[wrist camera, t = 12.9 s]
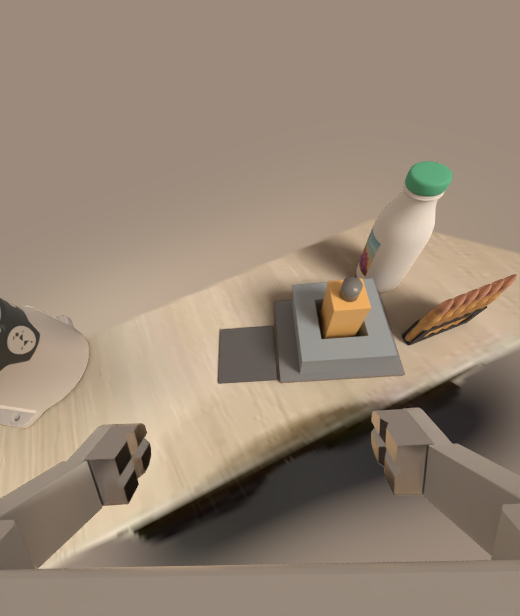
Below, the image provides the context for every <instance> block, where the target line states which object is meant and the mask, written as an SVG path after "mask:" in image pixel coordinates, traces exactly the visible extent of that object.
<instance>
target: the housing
mask: <svg viewBox="0 0 520 616" xmlns="http://www.w3.org/2000/svg"><path fill="white" fill-rule="evenodd" d="M363 281H364V285H365V288H366V292H367V295H368V299H369V302H370V305H371V310H370V311H369V313H368V315H367V316H366V318H365V320H364V321H363V323H362V325H361V326H360V328H359V330H358V331H357V333H356V335H355V336H354V337H346V338H332V339H321V335H320V329H319V323H318V320H319V316H320V312H321V308H322V304H323V300H324V296H325V292H326V287H327V283H328V282H323V283H311V284H299V285H293V290H292V300H282V301H274V305H275V318H276V331H277V343H278V356H279V369H280V382H281V383H291V382H307V381H323V380H339V379H356V378H372V377H388V376H403V375H405V372H404V369H403V366H402V363H401V360H400V357H399V353H398V350H397V347H396V344H395V341H394V338H393V335H392V332H391V328H390V325H389V322H388V319H387V316H386V313H385V310H384V306H383V303H382V300H381V297H380V294H379V293H378V292H377V289H376V286H375V283H374V280H373V278H372V279H363Z"/></svg>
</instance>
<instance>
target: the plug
mask: <svg viewBox="0 0 520 616" xmlns="http://www.w3.org/2000/svg"><path fill="white" fill-rule="evenodd" d="M370 310H371V305H370V302H369V299H368V295H367V292H366V288H365V285H364V281H363V278H361V279H358V278H356V277H347V278H346V279H344V280H337V281H328V283H327V287H326V292H325V296H324V300H323V304H322V308H321V312H320V316H319V320H318V323H319V329H320V335H321V339H332V338H346V337H354V336H355V335H356V333H357V331H358V330H359V328H360V326H361V325H362V323H363V321H364V320H365V318H366V316H367V315H368V313H369V311H370Z"/></svg>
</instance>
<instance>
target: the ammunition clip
mask: <svg viewBox="0 0 520 616" xmlns="http://www.w3.org/2000/svg"><path fill="white" fill-rule="evenodd" d="M516 277H517V275H516V274H514V275H511V276H508V277H506V278H504V279H501V280H498V281H495V282H493V283H491V284H488V285H485V286H483V287H480V288H479V289H475V290H472V291H470V292H468V293H466V294H462V295H459V296H457V297H455V298H454V299H448V300H446V301H444V302H442V303H441V304H440V305H438V306H437V307H436V308H435V309H433V310H432V311H430V312H428V313H427V314H426V315H425V316H424V317H423V318H422V319H421V320H418V321H416V322H415V323H414V324H413V325H412V326H411V327H410V328H409V329H408V330H407V331H406V332H405V333H404V334H403V335H402V337H403V339H404V340H405V341H406V343H407V344H408V345H412V344H414V343H417V342H419V341H422V340H424V339H427V338H429V337H432V336H434V335H437V334H439V333H442V332H444V331H447V330H449V329H452V328H454V327H457V326H459V325H462V324H464V323H467V322H468V321H470V320H471V319H472V318H474V317H475V316H476V315H478V314H479V313H480V312H482V311H483V310H484V309H486V308H487V305H488V304H490V303H491V302H492V301H494V300H495V299H496V298H497V297H498V296H499V295H500V294H501V293H502V292H503V291H504V290H506V289H507V288H508V287H509V286H510V285H511V284H512V283H513V282H514V281H515V279H516Z"/></svg>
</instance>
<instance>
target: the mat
mask: <svg viewBox="0 0 520 616" xmlns="http://www.w3.org/2000/svg"><path fill="white" fill-rule="evenodd" d="M269 380H277V372H276V358H275V344H274V330H273V326H263V327H249V328H236V329H222V330H220V354H219V380H218V383H219V384H220V383H237V382H253V381H269Z"/></svg>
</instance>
